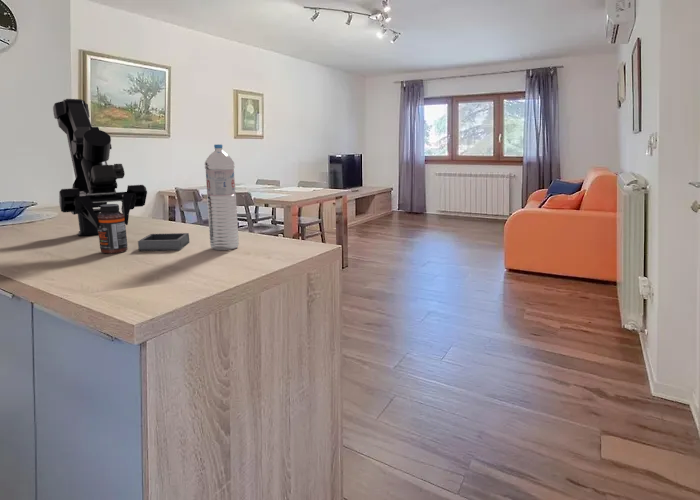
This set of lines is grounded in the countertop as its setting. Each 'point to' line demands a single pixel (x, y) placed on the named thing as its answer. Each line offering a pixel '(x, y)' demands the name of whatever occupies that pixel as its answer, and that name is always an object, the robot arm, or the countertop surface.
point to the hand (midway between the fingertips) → (112, 225)
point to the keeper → (164, 242)
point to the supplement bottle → (112, 229)
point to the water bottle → (221, 200)
